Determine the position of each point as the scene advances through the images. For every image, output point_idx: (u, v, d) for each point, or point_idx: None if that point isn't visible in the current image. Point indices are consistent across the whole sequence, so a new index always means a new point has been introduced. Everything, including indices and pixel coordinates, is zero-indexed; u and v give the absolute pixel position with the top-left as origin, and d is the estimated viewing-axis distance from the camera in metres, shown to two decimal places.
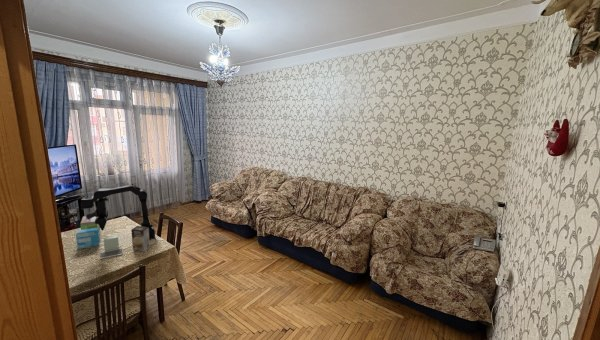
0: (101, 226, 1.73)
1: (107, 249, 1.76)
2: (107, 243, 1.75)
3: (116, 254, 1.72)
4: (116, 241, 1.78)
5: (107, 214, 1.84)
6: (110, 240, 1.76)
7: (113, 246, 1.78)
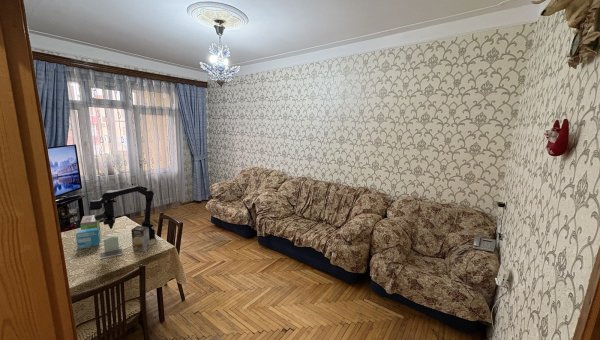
0: (109, 225, 1.80)
1: (107, 249, 1.76)
2: (107, 243, 1.75)
3: (116, 254, 1.72)
4: (116, 241, 1.78)
5: (114, 217, 1.84)
6: (110, 240, 1.76)
7: (113, 246, 1.78)
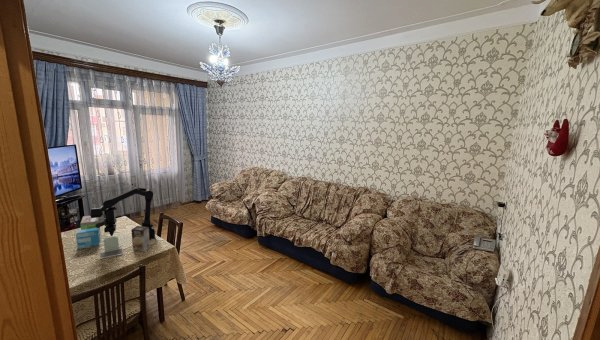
0: (110, 232, 1.81)
1: (107, 249, 1.76)
2: (107, 243, 1.75)
3: (116, 254, 1.72)
4: (116, 241, 1.78)
5: (115, 225, 1.85)
6: (110, 240, 1.76)
7: (113, 246, 1.78)
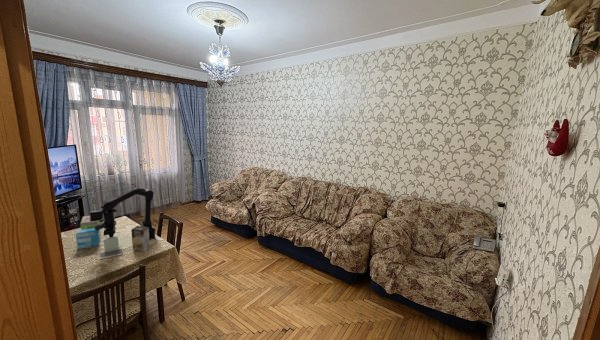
0: (109, 235, 1.77)
1: (107, 249, 1.76)
2: (107, 243, 1.75)
3: (116, 254, 1.72)
4: (116, 241, 1.78)
5: (115, 227, 1.81)
6: (110, 240, 1.76)
7: (113, 246, 1.78)
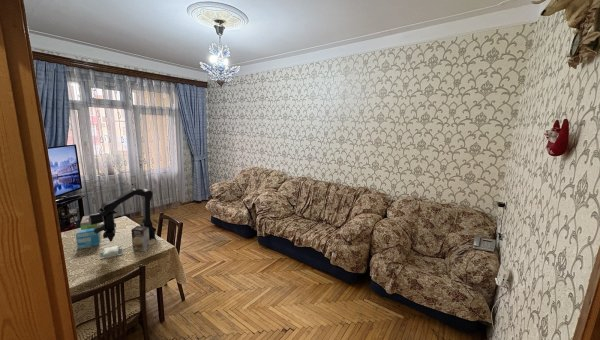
0: (109, 237, 1.74)
1: None
2: None
3: None
4: None
5: (114, 230, 1.78)
6: None
7: None
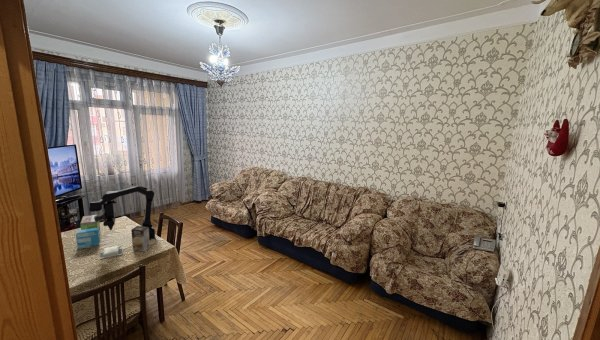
0: (109, 226, 1.79)
1: None
2: None
3: None
4: None
5: (114, 219, 1.83)
6: None
7: None
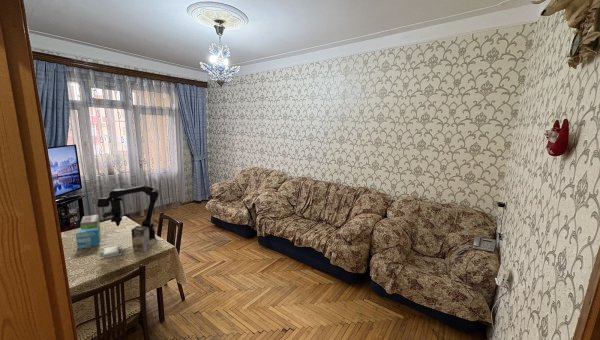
0: (116, 222, 1.85)
1: None
2: None
3: None
4: None
5: (121, 215, 1.89)
6: None
7: None
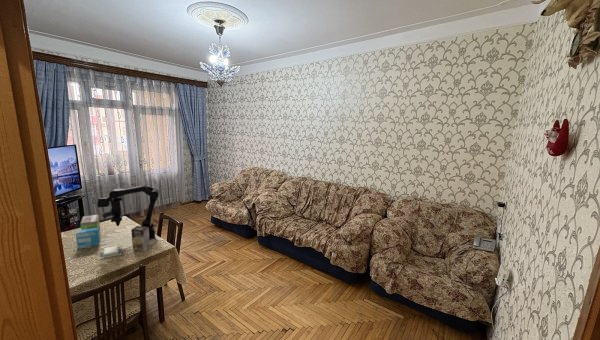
0: (116, 222, 1.85)
1: None
2: None
3: None
4: None
5: (121, 215, 1.89)
6: None
7: None
